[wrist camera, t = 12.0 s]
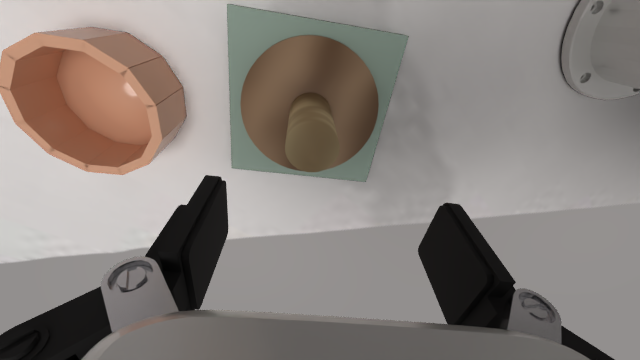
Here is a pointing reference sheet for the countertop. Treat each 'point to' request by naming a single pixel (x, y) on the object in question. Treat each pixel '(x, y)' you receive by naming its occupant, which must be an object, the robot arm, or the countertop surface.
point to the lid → (309, 103)
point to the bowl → (92, 97)
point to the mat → (270, 28)
